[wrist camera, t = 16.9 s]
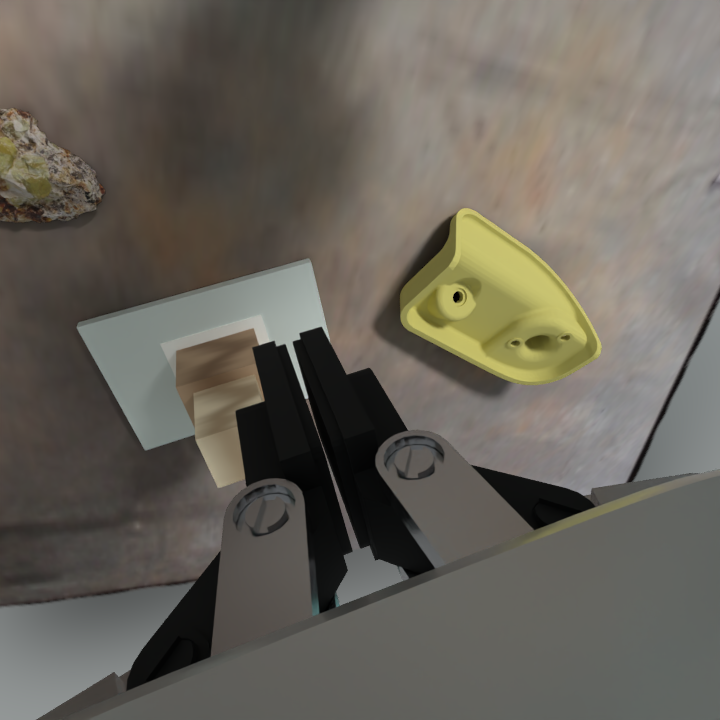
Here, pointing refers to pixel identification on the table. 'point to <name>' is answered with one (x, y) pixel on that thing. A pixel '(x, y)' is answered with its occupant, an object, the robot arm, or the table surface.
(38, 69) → the table surface
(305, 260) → the board
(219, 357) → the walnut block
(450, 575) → the robot arm
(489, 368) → the plastic component
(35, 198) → the mineral rock
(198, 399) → the maple block
